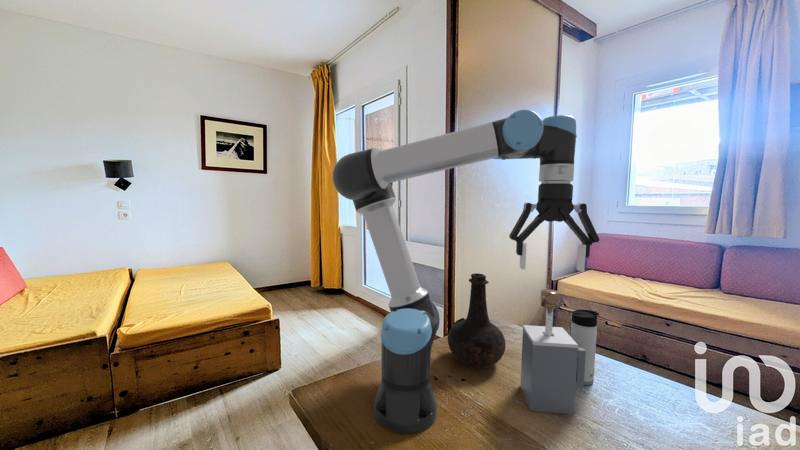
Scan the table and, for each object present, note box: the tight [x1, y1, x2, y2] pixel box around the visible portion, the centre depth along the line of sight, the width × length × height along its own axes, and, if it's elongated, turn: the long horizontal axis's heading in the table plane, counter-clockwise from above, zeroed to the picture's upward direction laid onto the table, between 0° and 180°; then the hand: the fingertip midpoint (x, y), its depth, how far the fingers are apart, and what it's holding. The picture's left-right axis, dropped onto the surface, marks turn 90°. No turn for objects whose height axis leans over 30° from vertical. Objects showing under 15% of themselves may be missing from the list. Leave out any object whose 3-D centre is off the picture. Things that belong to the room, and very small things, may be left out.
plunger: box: [540, 288, 561, 336], centre depth 80 cm, size 4×4×24 cm
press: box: [520, 324, 586, 415], centre depth 80 cm, size 14×10×17 cm
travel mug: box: [570, 309, 600, 386], centre depth 90 cm, size 6×7×20 cm
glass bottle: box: [447, 272, 507, 369], centre depth 99 cm, size 18×18×28 cm
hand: (551, 269), depth 78 cm, fingers open, 13 cm apart
